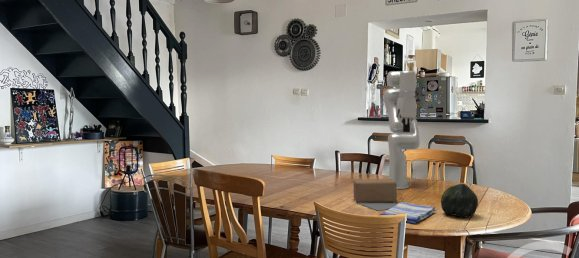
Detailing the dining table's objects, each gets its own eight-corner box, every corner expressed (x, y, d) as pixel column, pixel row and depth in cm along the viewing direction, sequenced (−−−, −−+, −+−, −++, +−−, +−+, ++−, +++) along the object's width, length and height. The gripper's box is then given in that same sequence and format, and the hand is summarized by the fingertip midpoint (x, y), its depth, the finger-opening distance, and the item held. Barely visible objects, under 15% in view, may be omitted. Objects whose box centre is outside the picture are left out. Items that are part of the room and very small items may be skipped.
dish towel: (436, 212, 191) (436, 206, 190) (417, 225, 172) (417, 218, 172) (399, 206, 201) (399, 200, 201) (377, 217, 182) (377, 211, 182)
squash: (440, 197, 198) (442, 176, 187) (475, 200, 194) (479, 179, 183) (439, 223, 188) (442, 203, 178) (476, 227, 184) (481, 207, 174)
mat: (384, 200, 216) (384, 199, 216) (406, 206, 202) (406, 206, 202) (357, 203, 208) (357, 203, 208) (378, 211, 194) (378, 210, 194)
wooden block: (397, 181, 208) (355, 182, 209) (397, 202, 208) (355, 202, 209) (392, 178, 218) (353, 179, 219) (393, 198, 218) (353, 198, 219)
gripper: (412, 95, 223) (412, 130, 224) (390, 95, 216) (389, 132, 217) (423, 95, 216) (422, 131, 218) (400, 95, 209) (400, 133, 211)
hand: (406, 131), depth 217 cm, fingers closed
